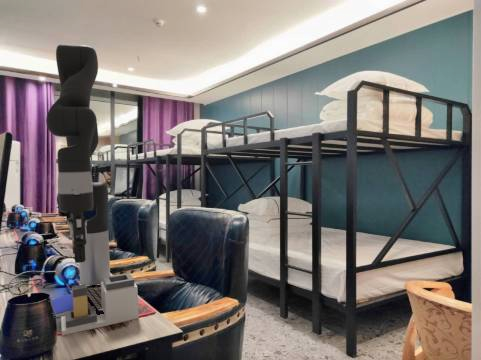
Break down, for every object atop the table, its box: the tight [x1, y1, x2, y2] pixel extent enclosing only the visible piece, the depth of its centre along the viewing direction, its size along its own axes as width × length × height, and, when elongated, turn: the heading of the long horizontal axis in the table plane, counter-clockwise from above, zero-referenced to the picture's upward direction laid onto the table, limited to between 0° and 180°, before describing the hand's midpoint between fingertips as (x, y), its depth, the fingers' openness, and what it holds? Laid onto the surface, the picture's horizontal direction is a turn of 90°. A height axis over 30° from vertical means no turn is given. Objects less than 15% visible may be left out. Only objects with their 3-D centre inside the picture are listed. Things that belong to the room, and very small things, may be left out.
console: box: [60, 272, 140, 336], centre depth 85 cm, size 9×17×10 cm, turn 118°
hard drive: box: [50, 293, 73, 318], centre depth 95 cm, size 2×8×12 cm
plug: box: [71, 284, 89, 318], centre depth 83 cm, size 3×3×8 cm
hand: (79, 257), depth 83 cm, fingers open, 8 cm apart
